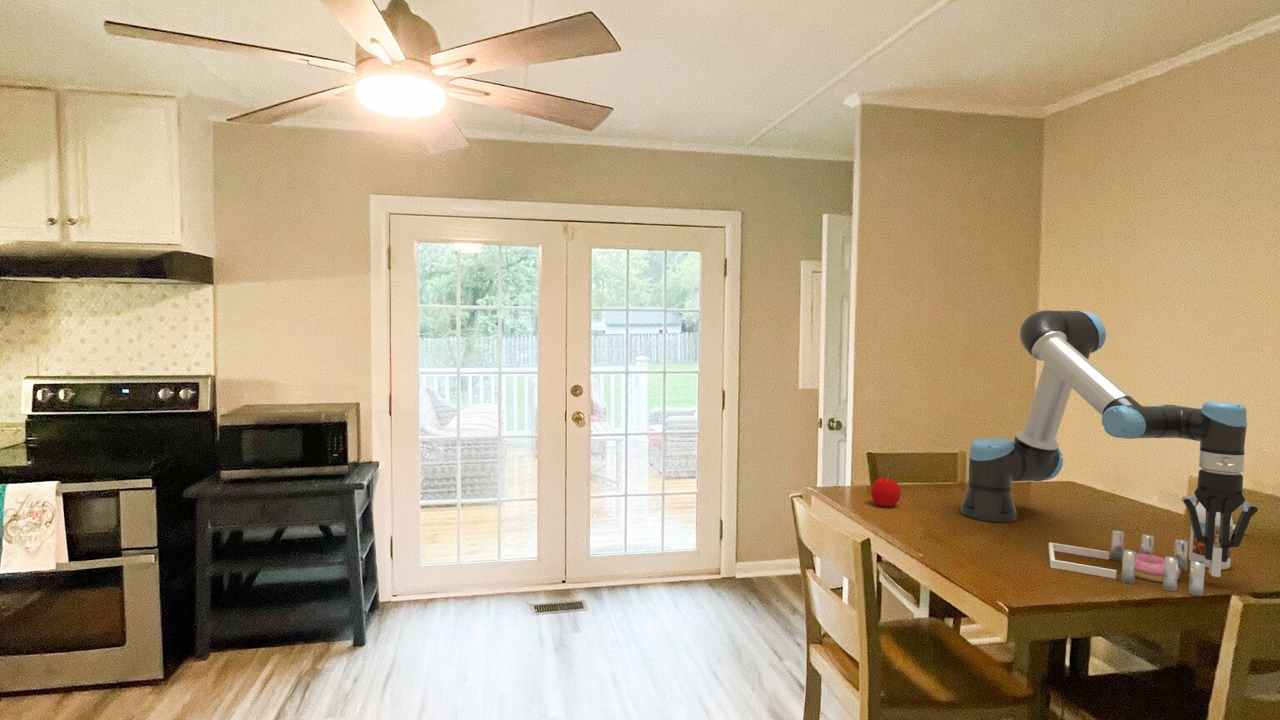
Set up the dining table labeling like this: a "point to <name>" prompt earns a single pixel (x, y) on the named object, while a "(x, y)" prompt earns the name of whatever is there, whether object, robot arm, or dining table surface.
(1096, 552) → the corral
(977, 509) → the robot arm
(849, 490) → the dining table surface
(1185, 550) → the spacers
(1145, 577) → the doughnut
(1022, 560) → the dining table surface
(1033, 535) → the dining table surface
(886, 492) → the fruit
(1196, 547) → the milk bottle
